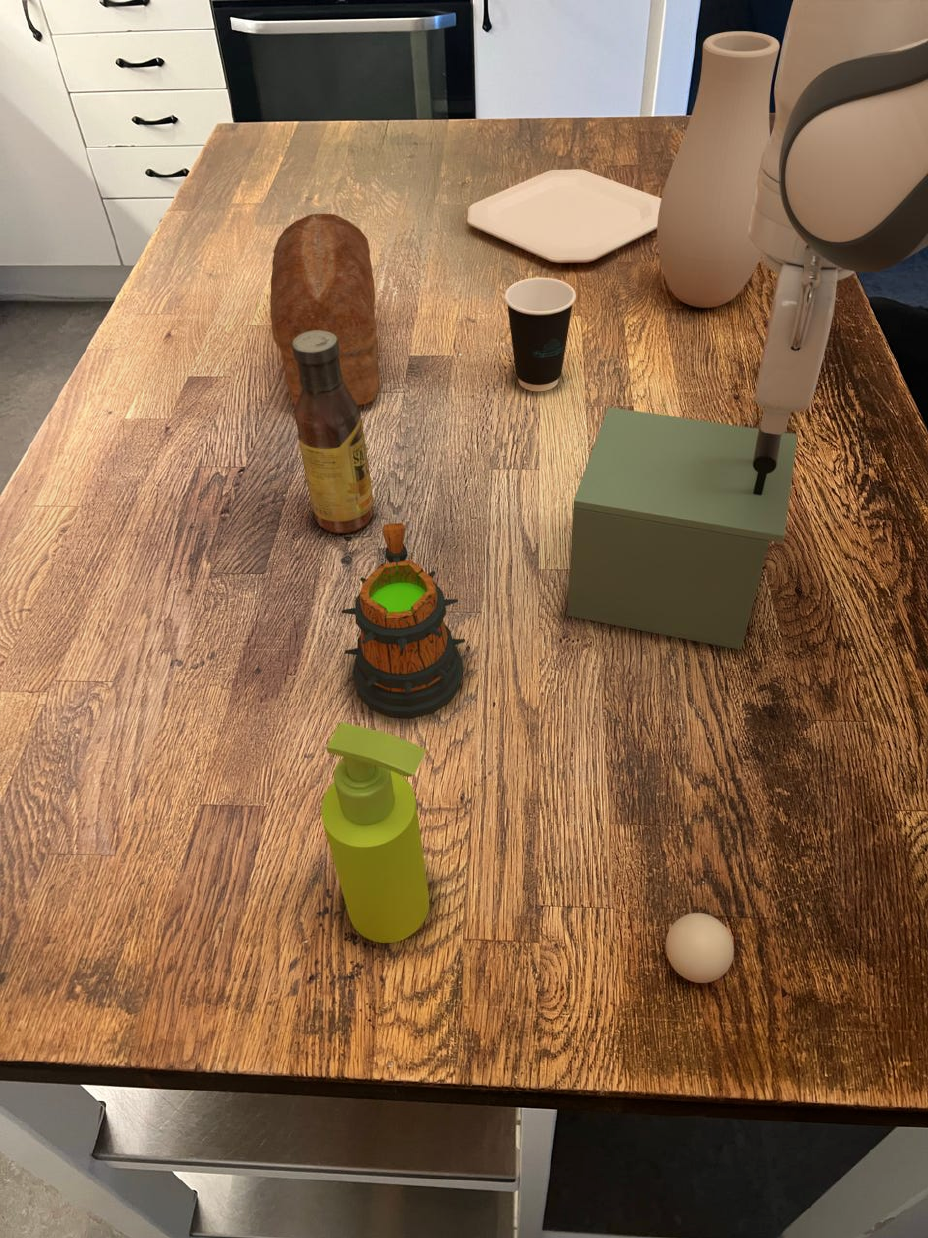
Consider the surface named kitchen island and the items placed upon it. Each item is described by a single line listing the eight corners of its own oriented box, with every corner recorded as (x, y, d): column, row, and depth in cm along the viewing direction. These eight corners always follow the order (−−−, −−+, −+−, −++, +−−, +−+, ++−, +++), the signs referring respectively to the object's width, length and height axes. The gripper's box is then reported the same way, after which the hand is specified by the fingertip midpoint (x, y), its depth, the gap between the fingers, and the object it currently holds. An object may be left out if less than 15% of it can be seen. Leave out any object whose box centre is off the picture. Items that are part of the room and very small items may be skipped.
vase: (768, 284, 128) (821, 29, 106) (738, 333, 120) (788, 68, 98) (669, 264, 133) (700, 16, 111) (634, 311, 124) (659, 53, 103)
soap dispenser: (424, 959, 66) (398, 799, 52) (334, 928, 68) (284, 765, 53) (454, 885, 70) (438, 717, 55) (368, 857, 72) (330, 687, 57)
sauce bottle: (378, 532, 97) (354, 357, 82) (316, 540, 96) (281, 366, 82) (372, 491, 101) (348, 319, 87) (312, 499, 101) (278, 328, 86)
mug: (472, 714, 80) (467, 620, 72) (350, 726, 80) (331, 633, 72) (458, 604, 89) (452, 508, 81) (349, 614, 89) (331, 520, 81)
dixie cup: (550, 406, 111) (553, 319, 103) (492, 387, 114) (490, 301, 106) (583, 373, 115) (588, 287, 107) (526, 355, 118) (527, 270, 110)
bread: (284, 426, 110) (260, 311, 99) (287, 305, 129) (267, 197, 119) (388, 415, 111) (375, 300, 100) (376, 296, 130) (363, 189, 119)
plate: (565, 176, 154) (565, 161, 153) (688, 222, 141) (690, 207, 140) (450, 227, 143) (449, 212, 142) (572, 282, 130) (573, 266, 129)
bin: (757, 548, 93) (784, 440, 84) (741, 650, 84) (769, 541, 75) (598, 521, 97) (607, 414, 87) (567, 616, 88) (573, 508, 78)
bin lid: (796, 441, 83) (808, 394, 80) (782, 543, 75) (795, 495, 71) (607, 413, 87) (611, 367, 84) (573, 507, 78) (575, 460, 75)
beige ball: (731, 941, 66) (742, 911, 63) (723, 1002, 63) (734, 974, 60) (667, 923, 67) (675, 893, 64) (657, 983, 64) (664, 955, 61)
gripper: (867, 294, 56) (812, 482, 66) (875, 156, 69) (828, 330, 79) (755, 282, 57) (718, 468, 67) (784, 148, 70) (750, 321, 80)
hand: (778, 392), depth 73 cm, fingers open, 8 cm apart
